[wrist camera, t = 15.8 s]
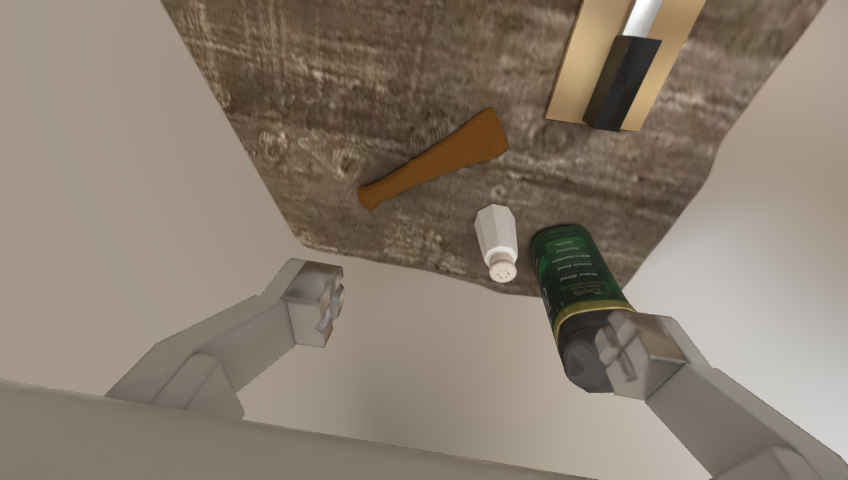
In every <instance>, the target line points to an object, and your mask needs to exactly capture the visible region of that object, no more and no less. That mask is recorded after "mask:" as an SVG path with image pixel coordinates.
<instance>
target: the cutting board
mask: <svg viewBox="0 0 848 480" xmlns="http://www.w3.org/2000/svg"><path fill="white" fill-rule="evenodd" d="M632 1H633V0H582V1H581V4H580V7H579V10H578V13H577V16H576V19H575V22H574V26H573V29H572V32H571V35H570V38H569V41H568V44H567V47H566V50H565V53H564V56H563V59H562V63H561V66H560V69H559V72H558V75H557V78H556V81H555V84H554V87H553V90H552V93H551V96H550V100H549V103H548V106H547V109H546V112H545V115H544V118H545V119H551V120H558V121H566V122H573V123H580V124H586V123H585V122H583V121H582V119H583V116H584V114H585V111H586V109H587V106H588V104H589V101H590V99H591V96H592V94H593V91H594V89H595V86H596V84H597V81H598V79H599V76H600V74H601V71H602V69H603V67H604V64H605V62H606V59H607V57H608V54H609V52H610V49H611V47H612V44H613V42H614V39H615V37H616V36H619V33H620V30H621V28H622V25H623V23H624V20H625V18H626V16H627V13H628V11H629V8H630V6H631V3H632ZM705 1H706V0H663V2H662V5H661V7H660V9H659V11H658V13H657V16H656V18H655V20H654V22H653V24H652V27H651V29H650V31H649V33H648V35H647V38H651V39H658V40H662V43H661V45H660V47H659V49H658V51H657V53H656V55H655V57H654V60H653V62H652V64H651V66H650V68H649V70H648V72H647V74H646V76H645V78H644V80H643V82H642V84H641V87H640V89H639V91H638V93H637V95H636V97H635V99H634V101H633V103H632V105H631V107H630V109H629V111H628V114H627V116H626V118H625V120H624V122H623V124H622V126H621V128H620V129H623V130H630V131H637V132H639V130H640V128H641V127H642V125H643V123H644V121H645V119H646V117H647V115H648V113H649V111H650V109H651V107H652V105H653V103H654V101H655V99H656V97H657V95H658V93H659V91H660V89H661V87H662V85H663V84H664V82H665V80H666V78H667V76H668V74H669V72H670V70H671V68H672V66H673V64H674V62H675V60H676V58H677V56H678V54H679V52H680V50H681V48H682V46H683V44H684V43H685V41H686V39H687V37H688V35H689V33H690V31H691V29H692V27H693V25H694V23H695V21H696V19H697V17H698V15H699V13H700V11H701V9H702V7H703V5H704V3H705ZM587 125H588V124H587Z"/></svg>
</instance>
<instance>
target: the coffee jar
mask: <svg viewBox="0 0 848 480" xmlns="http://www.w3.org/2000/svg"><path fill="white" fill-rule="evenodd" d="M532 263H533V268H534V271H535V274H536V278H537V281H538V284H539V287H540V291H541V295H542V298H543V302H544V305H545V308H546V312H547V315H548V319H549V322H550V325H551V328H552V332H553V336H554V339H555V342H556V346H557V349H558V353H559V355H560V358H561V361H562V364H563V367H564V371H565V374H566V376H567V377H568V378H569V380H570V381H571V382H572V383H574V384H575V385H577V386H578V387H580V388H582V389H584V390H585V391H586V392H588V393H611V392H613V390H612V388H611V386H610V383H609V381H608V379H607V376H606V374H605V371H606V369H607V366H606V365H605V364H604V363H603V362H602V361H601V360H600V359H599V357H598V355H597V352H596V348H595V338H596V334H597V332H598V331H599V329H600V328H601V327H603V326H605V325H607V324H609V321H608V316H609V315H610V313H611V312H612V311H614V310H616V309H619V310H626V311H632V312H637V311H636V310H635V309H634V308H633V307H632V306H631V304H629V302H628V300H627V299H626V297H625V296H624V294H623V293H622V291H621V289H620V288H619V286H618V284H617V282H616V281H615V279H614V277H613V275H612V273H611V272H610V270H609V268H608V266H607V265H606V263H605V261H604V259H603V257H602V255H601V254H600V252H599V250H598V248H597V246H596V244H595V242H594V241H593V239H592V237H591V235H590V234H589V232H588V231H587V230H586V229H585V228H583V227H580V226H576V225H565V226H558V227H553V228H550V229H547V230H544V231H542V232H541V233H539V234H538V235H537V236H536V237H535V238H534V240H533V243H532Z"/></svg>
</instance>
